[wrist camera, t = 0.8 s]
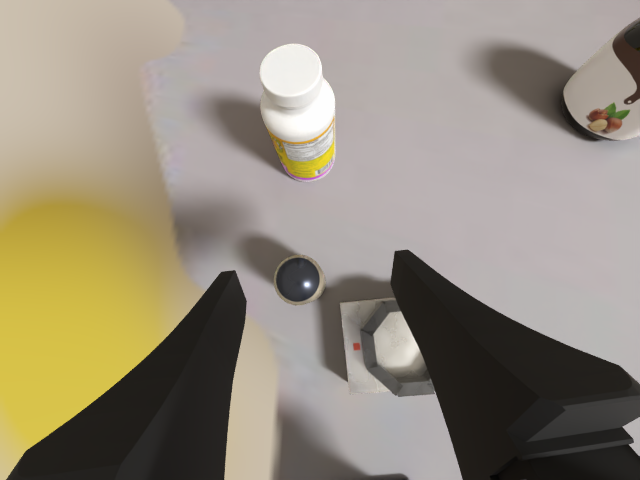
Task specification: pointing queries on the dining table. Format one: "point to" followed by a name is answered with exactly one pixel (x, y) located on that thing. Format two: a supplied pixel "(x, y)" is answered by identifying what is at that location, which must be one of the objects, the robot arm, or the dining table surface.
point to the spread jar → (607, 90)
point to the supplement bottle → (298, 111)
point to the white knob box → (382, 350)
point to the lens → (299, 280)
